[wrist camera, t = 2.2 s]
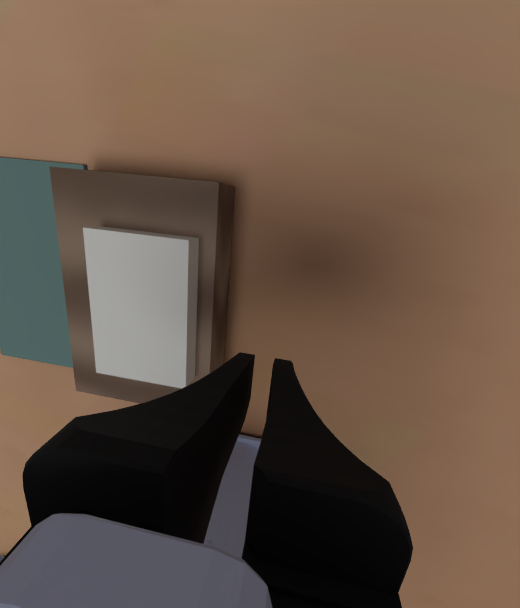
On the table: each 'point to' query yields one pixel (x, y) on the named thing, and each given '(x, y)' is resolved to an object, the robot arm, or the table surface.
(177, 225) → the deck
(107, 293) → the card
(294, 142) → the table surface
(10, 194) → the mat
